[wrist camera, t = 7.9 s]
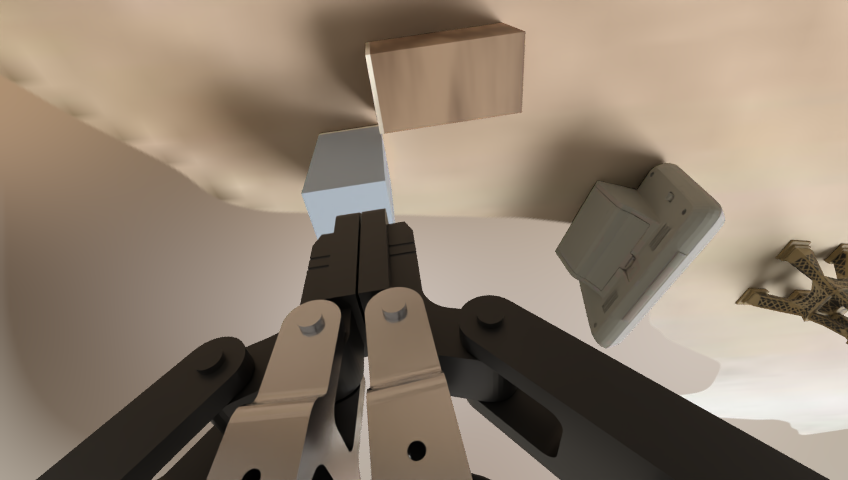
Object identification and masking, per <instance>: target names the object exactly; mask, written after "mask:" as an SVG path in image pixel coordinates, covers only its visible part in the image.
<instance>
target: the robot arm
mask: <svg viewBox="0 0 848 480" xmlns="http://www.w3.org/2000/svg"><path fill="white" fill-rule="evenodd" d="M367 356H368V360H369V371H370V372H369V373H370V388H369V389H367V396H366V398H367V415H368V431H369V446H370V460H371V476H372V480H490V479H488V478H486V477H483V476H480V475H476V474H473V473H471V471H470V468H469V464H468V460H467V456H466V453H465V449H464V445H463V442H462V438H461V434H460V430H459V426H458V423H457V419H456V415H455V412H454V408H453V404H452V400H451V396H454V397H460V398H466V399H467V400H468V402H469V403H470V405H471V406H472V407H473V408H475V409H476V410H477V411H478V412H479V413H481V414H482V415H483V416H484V417H485V418H487V419H488V420H489V421H490V422H492V423H493V424H494V425H495V426H496V427H497V428H499V429H500V430H501V431H502V432H503V433H505V434H506V435H507V436H508V437H509V438H511V439H512V440H513V441H514V442H515V443H517V444H518V445H519V446H520V447H521V448H523V449H524V450H525V451H526V452H528V453H529V454H530V455H531V456H532V457H534V458H535V459H536V460H537V461H538V462H540V463H541V464H542V465H543V466H544V467H546V468H547V469H548V470H549V471H550V472H552V473H553V474H554V475H555V476H556V477H558V478H559V479H560V480H829V479H828V478H826V477H824V476H822V475H820V474H819V473H817V472H815V471H813V470H812V469H810V468H808V467H806V466H804V465H802V464H801V463H799V462H797V461H795V460H793V459H792V458H790V457H788V456H787V455H785V454H783V453H781V452H779V451H778V450H775V449H774V448H772V447H770V446H769V445H767V444H765V443H763V442H761V441H760V440H758V439H756V438H754V437H752V436H751V435H749V434H747V433H745V432H744V431H742V430H740V429H738V428H736V427H735V426H733V425H731V424H729V423H727V422H726V421H724V420H722V419H720V418H719V417H717V416H715V415H713V414H711V413H710V412H708V411H706V410H704V409H702V408H701V407H699V406H697V405H695V404H694V403H692V402H690V401H688V400H686V399H685V398H683V397H681V396H679V395H677V394H675V393H674V392H672V391H670V390H668V389H667V388H665V387H663V386H661V385H660V384H658V383H656V382H654V381H652V380H651V379H649V378H647V377H645V376H643V375H642V374H640V373H638V372H636V371H634V370H633V369H631V368H629V367H627V366H625V365H624V364H622V363H620V362H618V361H617V360H615V359H613V358H611V357H609V356H608V355H606V354H604V353H602V352H600V351H598V350H597V349H595V348H593V347H592V346H590V345H588V344H586V343H584V342H583V341H581V340H579V339H577V338H576V337H574V336H572V335H570V334H568V333H566V332H565V331H563V330H561V329H559V328H558V327H556V326H554V325H552V324H550V323H549V322H547V321H545V320H543V319H542V318H540V317H538V316H536V315H534V314H533V313H531V312H529V311H527V310H525V309H523V308H522V307H520V306H518V305H516V304H515V303H513V302H511V301H509V300H507V299H505V298H502V297H499V296H492V295H487V296H480V297H476V298H474V299H472V300H470V301H468V302H467V303H466V304H465V305H464V306H463V307H462V309H456V308H447V307H442V306H439V305H437V304H434V303H433V302H431V301H430V300H429V299H428V298H427V297H426V296H425V295H424V293H423V291H422V286H421V280H420V273H419V267H418V261H417V255H416V248H415V243H414V235H413V230H412V229H411V228H410V227H409V226H408V225H407V224H406V223H405V222H398V223H392V224H389V222H388V217H387V212H386V209H385V208H384V209H377V210H371V211H365V212H362V213H360V212H359V213H352V214H346V215H339V216H336V219H335V226H334V233H329V234H322V235H321V236H320V237H319V239H318V240H317V241H316V242H315V244H314V245H313V247H312V252H311V256H310V261H309V266H308V271H307V276H306V280H305V284H304V289H303V294H302V298H301V303H300V306H298V307H297V308H295V309H294V310H292V311H291V312H290V313H289V314H288V315H287V316H286V318H285V319H284V321H283V323H282V325H281V329H280V331H279V333H277V334H275V335H273V336H271V337H269V338H267V339H264V340H262V341H260V342H257V343H255V344H252V345H250V346H248V347H245V346H244V344H243V343H242V341H240V340H239V339H237V338H234V337H220V338H216V339H213V340H211V341H209V342H207V343H204V344H203V345H201V346H200V347H198V348H197V349H195V350H194V351H193V352H192V353H190V354H189V355H188V356H187V357H185V358H184V359H183V360H182V361H181V362H179V363H178V364H177V365H176V366H174V367H173V368H172V369H171V370H170V371H168V372H167V373H166V374H165V375H164V376H162V377H161V378H160V379H159V380H157V381H156V382H155V383H154V384H152V385H151V386H150V387H149V388H148V389H146V390H145V391H144V392H143V393H141V394H140V395H139V396H138V397H137V398H135V399H134V400H133V401H132V402H130V403H129V404H128V405H127V406H126V407H124V408H123V409H122V410H121V411H119V412H118V413H117V414H116V415H115V416H113V417H112V418H111V419H110V420H109V421H107V422H106V423H105V424H104V425H102V426H101V427H100V428H99V429H97V430H96V431H95V432H94V433H93V434H91V435H90V436H89V437H88V438H87V439H85V440H84V441H83V442H82V443H80V444H79V445H78V446H77V447H76V448H74V449H73V450H72V451H71V452H69V453H68V454H67V455H66V456H65V457H63V458H62V459H61V460H60V461H58V462H57V463H56V464H55V465H53V466H52V467H51V468H50V469H49V470H47V471H46V472H45V473H44V474H43V475H41V476H40V477H39V478H38V479H36V480H152V478H153V477H154V476H155V475H156V474H157V473H158V472H159V471H160V470H161V469H162V468H163V467H164V466H165V465H166V464H167V463H168V462H169V461H170V460H171V459H172V458H173V457H174V456H175V455H176V454H177V453H178V452H179V451H180V450H181V449H182V448H183V447H184V446H185V445H186V444H187V443H188V442H189V441H190V440H191V439H192V438H193V437H194V436H195V435H196V434H197V433H199V432H200V430H202V429H203V428H204V427H205V426H206V425H207V424H208V423H209V422H210V421H211V422H212V424H213V425H214V426H213V427H212V428H211V429H210V430H209V431H208V432H207V433H206V434H205V435H204V436H203V437H202V438H201V439H200V440H199V441H198V442H197V443H196V444H195V445H194V446H193V447H192V448H191V449H190V450H189V451H188V452H187V453H186V454H185V455H184V456H183V457H182V458H181V459H180V460H179V461H178V462H177V463H176V464H175V465H174V466H173V467H172V468H171V469H170V470H169V471H168V472H167V473H166V474H165V475H164V476H162V477H161V478H159V479H157V480H361V477H360V470H359V447H360V436H361V426H362V416H363V405H364V394H365V378H364V375H363V373H364V357H367Z"/></svg>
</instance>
